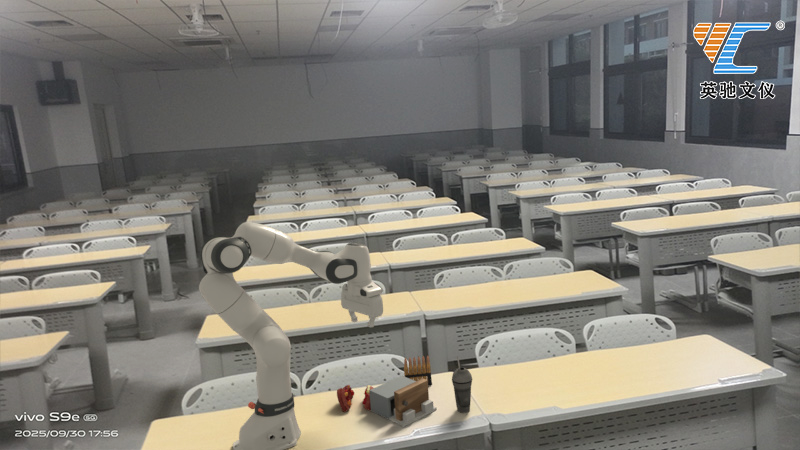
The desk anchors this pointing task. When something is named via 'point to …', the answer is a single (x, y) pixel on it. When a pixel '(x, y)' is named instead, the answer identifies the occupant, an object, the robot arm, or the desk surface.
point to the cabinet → (385, 402)
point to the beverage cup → (462, 388)
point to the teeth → (347, 395)
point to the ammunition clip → (421, 373)
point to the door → (411, 397)
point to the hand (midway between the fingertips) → (362, 324)
